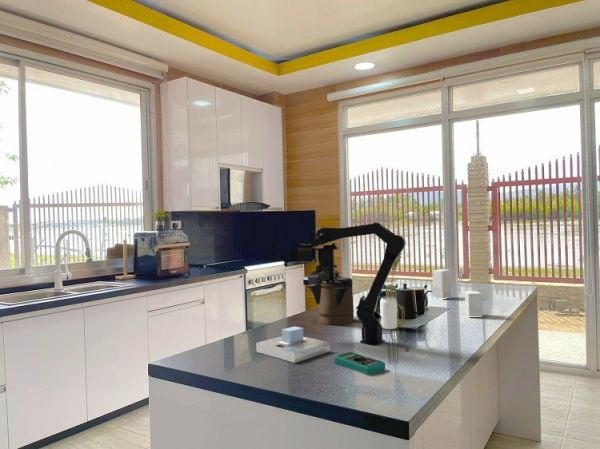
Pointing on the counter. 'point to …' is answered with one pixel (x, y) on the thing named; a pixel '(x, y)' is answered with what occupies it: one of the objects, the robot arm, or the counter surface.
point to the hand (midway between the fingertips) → (327, 305)
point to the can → (388, 312)
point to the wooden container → (328, 305)
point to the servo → (292, 336)
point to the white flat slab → (293, 349)
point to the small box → (473, 303)
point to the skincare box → (441, 283)
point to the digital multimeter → (360, 363)
